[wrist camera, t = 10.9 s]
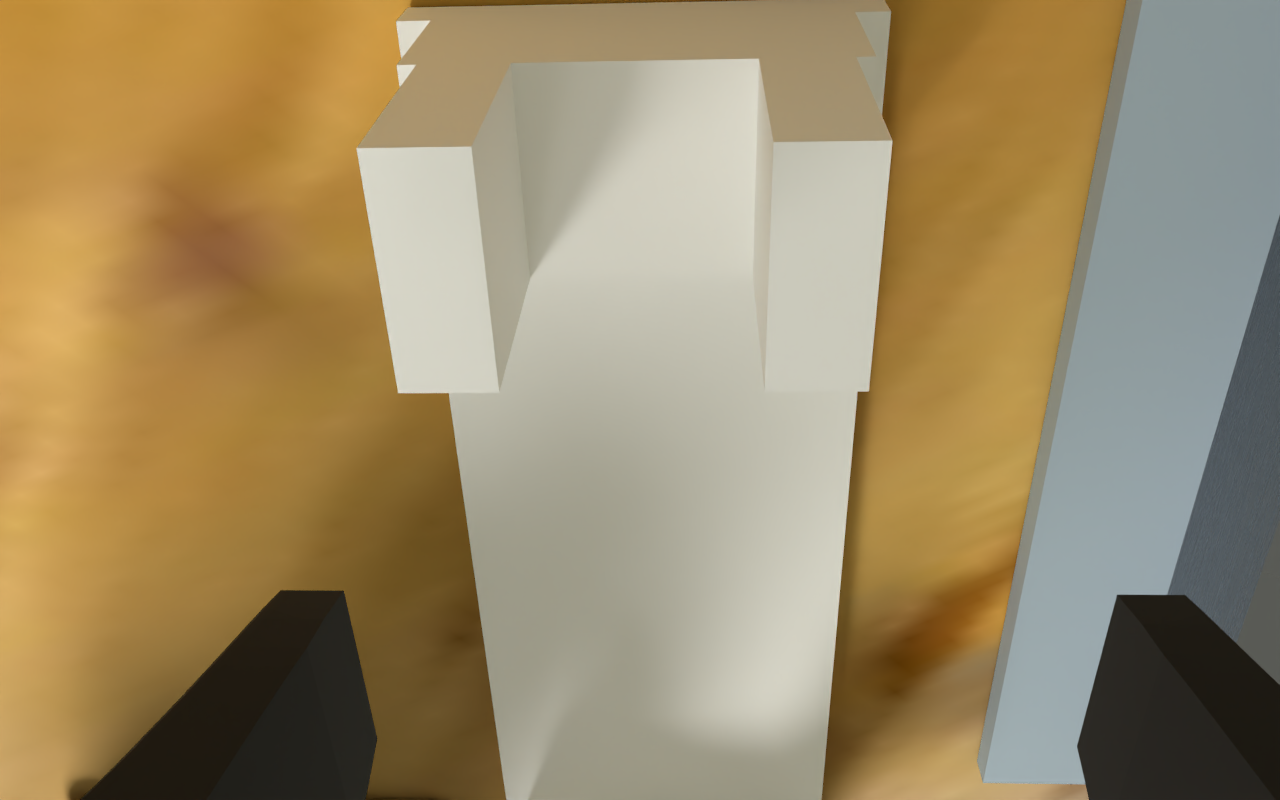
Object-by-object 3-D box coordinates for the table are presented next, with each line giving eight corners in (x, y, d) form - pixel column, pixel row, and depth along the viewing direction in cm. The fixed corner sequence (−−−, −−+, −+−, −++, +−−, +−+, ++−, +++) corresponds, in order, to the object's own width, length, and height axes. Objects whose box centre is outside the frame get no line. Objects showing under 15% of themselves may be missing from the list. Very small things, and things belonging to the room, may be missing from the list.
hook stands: (522, 851, 28) (483, 1115, 22) (407, 7, 17) (285, 148, 12) (810, 856, 27) (837, 1125, 22) (882, -3, 16) (968, 139, 11)
